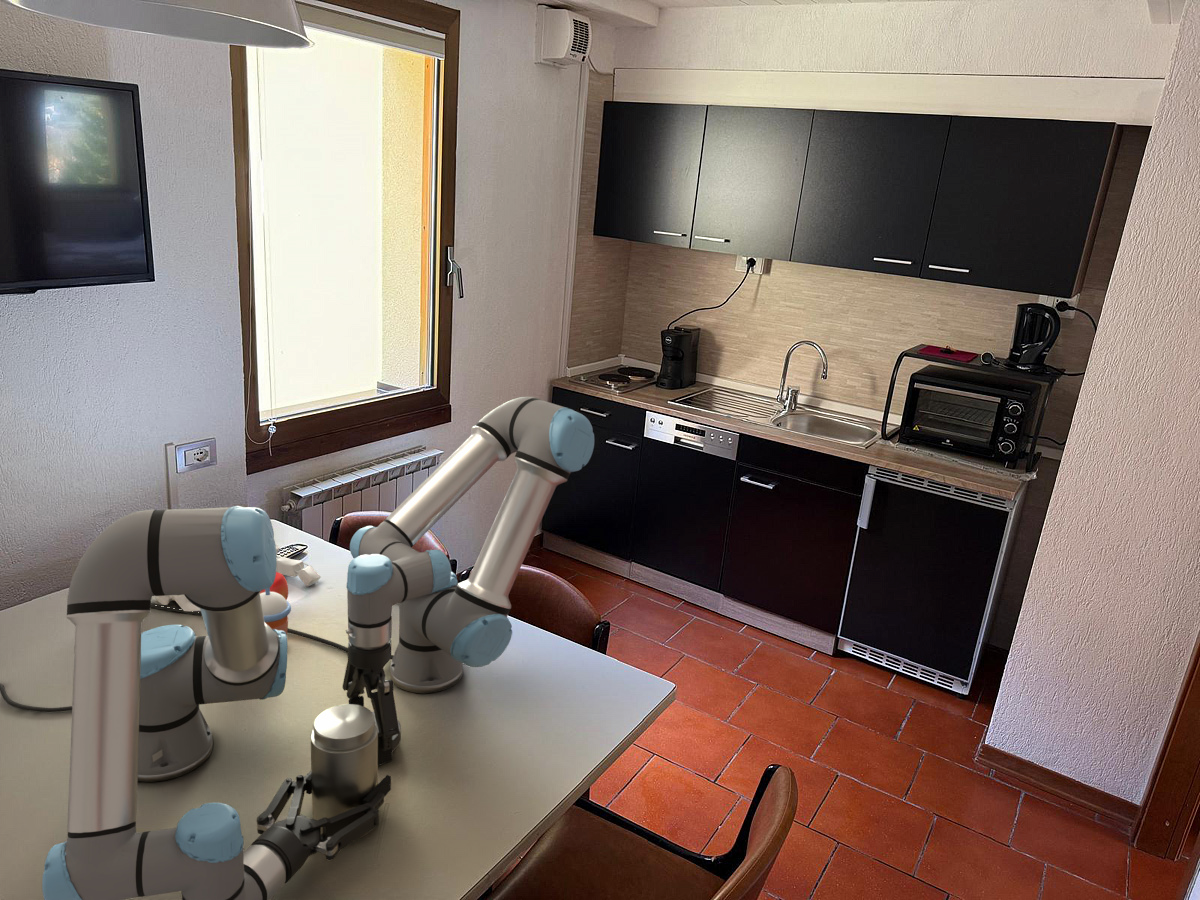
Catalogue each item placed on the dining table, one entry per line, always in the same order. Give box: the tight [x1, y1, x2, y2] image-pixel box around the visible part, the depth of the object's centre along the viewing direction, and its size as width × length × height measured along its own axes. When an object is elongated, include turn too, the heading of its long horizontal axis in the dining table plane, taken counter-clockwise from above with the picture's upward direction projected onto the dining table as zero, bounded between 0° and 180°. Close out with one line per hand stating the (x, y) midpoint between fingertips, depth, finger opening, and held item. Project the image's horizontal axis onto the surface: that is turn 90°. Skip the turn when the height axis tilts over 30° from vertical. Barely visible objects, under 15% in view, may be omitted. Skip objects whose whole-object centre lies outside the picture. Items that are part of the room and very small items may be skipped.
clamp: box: [275, 544, 322, 587], centre depth 219 cm, size 20×4×7 cm, turn 62°
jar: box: [310, 703, 379, 839], centre depth 137 cm, size 10×10×19 cm
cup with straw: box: [260, 588, 292, 636], centre depth 183 cm, size 9×9×18 cm
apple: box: [260, 572, 289, 601], centre depth 199 cm, size 10×10×10 cm
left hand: (360, 772), depth 142 cm, fingers closed on jar, 10 cm apart
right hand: (369, 744), depth 158 cm, fingers closed on lid, 11 cm apart
